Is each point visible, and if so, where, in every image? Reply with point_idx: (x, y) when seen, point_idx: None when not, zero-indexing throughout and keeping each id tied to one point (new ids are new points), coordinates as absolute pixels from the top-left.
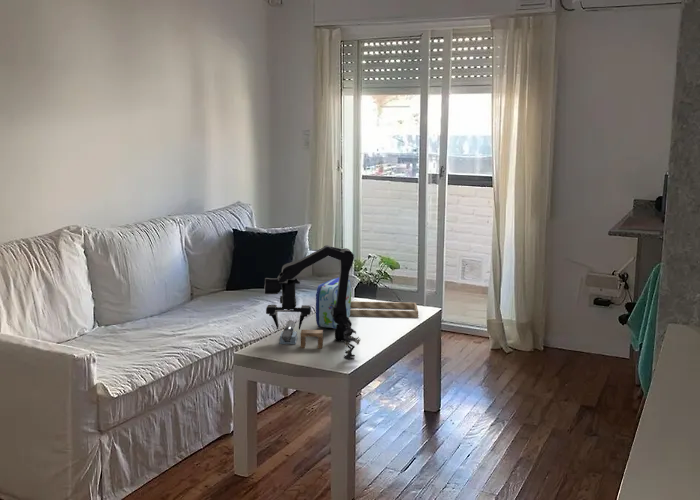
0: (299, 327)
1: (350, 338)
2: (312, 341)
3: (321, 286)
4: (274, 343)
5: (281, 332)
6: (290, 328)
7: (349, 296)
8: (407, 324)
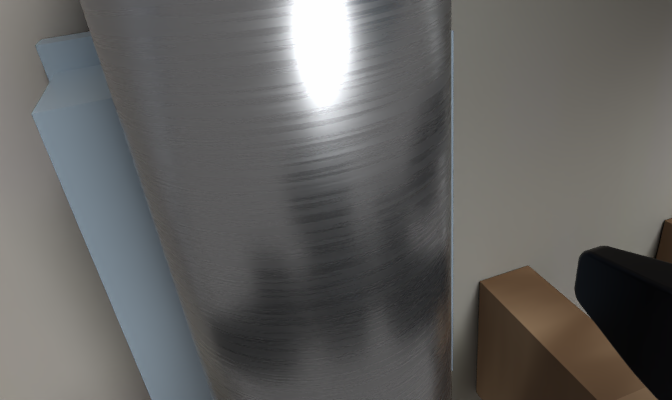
0: (634, 351)
1: None
2: (614, 108)
3: None
4: (80, 396)
5: (83, 237)
6: None
7: None
8: None
